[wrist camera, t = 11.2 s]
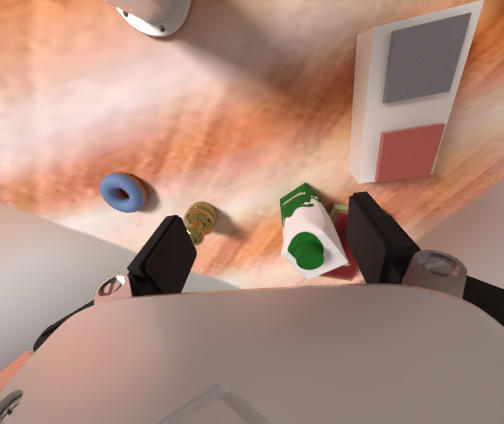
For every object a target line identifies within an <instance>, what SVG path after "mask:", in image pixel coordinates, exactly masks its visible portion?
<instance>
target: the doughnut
mask: <svg viewBox="0 0 504 424" xmlns="http://www.w3.org/2000/svg"><path fill="white" fill-rule="evenodd" d="M119 188H121V189H123V190H125V191H126V192H127V193H128V195H129V197H130V198H127V197H125V196H124V195H123V194H122V193H121V192H120V189H119ZM100 191H101V195H102V196H103V198H104V200H105V201H106V202H107V203H108V204H109V205H110V206H111V207H113V208H114V209H116V210H119V211H121V212H126V213H130V212H136V211H138V210H140V209H141V208H142V207H143V206H144V205H145V204H146V201H147V192H146V190H145V188H144V186H143V185H142V183H141V182H140V181H139V180H137V179H136V178H135V177H133V176H131V175H129V174H126V173H121V172H118V173H112V174H109V175H108V176H106V177H104V179H103V180H102V182H101V185H100Z"/></svg>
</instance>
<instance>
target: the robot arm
mask: <svg viewBox="0 0 504 424" xmlns="http://www.w3.org/2000/svg"><path fill="white" fill-rule="evenodd" d="M102 1H104V2H106V3H108V4H110V5H112V6H114V7H116V8H117V10H118V12H119V13H120V14H121V15H122V17H123V18H124V19H125V20H126V21H127V22H128V23H129V24H130V25H131V26H132V27H134V28H135V29H137V30H138V31H140V32H142V33H144V34H146V35H149V36H153V37H165V36H169V35H171V34H173V33H175V32H176V31H177V30H178V29H179V28H180V27H181V26H182V25H183V23H184V22H185V20H186V18H187V16H188V13H189V10H190V6H191V2H192V0H102ZM128 13H129V16H128ZM164 28H165V32H164V31H163V29H164ZM346 239H347V243H348V245H349V248H350V250H351V252H352V254H353V256H354V258H355V260H356V262H357V264H358V267H359V269H360V271H361V273H362V275H363V277H364V279H365V281H366V283H367V284H341V285H317V286H297V287H277V288H258V289H240V290H223V291H206V292H189V293H181V292H182V289H183V287H184V284H185V282H186V280H187V277H188V275H189V273H190V270H191V268H192V266H193V263H194V261H195V258H196V256H197V252H196V249H195V247H194V244H193V242H192V240H191V238H190V236H189V233H188V231H187V229H186V227H185V224H184V222H183V220H182V218H181V217H179V216H178V215H173V216H167V217H166V218H165V219H164V220H163V222H162V223H161V224H160V226H159V227H158V228H157V229H156V231H155V232H154V233H153V235H152V236H151V237H150V239H149V240H148V241H147V242H146V244H145V245H144V246H143V248H142V249H141V250H140V252H139V253H138V254H137V256H136V257H135V258H134V260H133V261H132V262H131V264H130V265H129V266H128V267H127V269H128V271H129V274H128V275H127V274H125V273H119V274H116V275H113V276H111V277H109V278H108V279H106V280H105V281H104V282H102V283H101V284H100V285H99V286H98V288H97V289H96V291H95V294H94V300H93V301H91V302H89V303H88V304H86V305H84V306H83V307H81V308H79V309H78V310H76V311H74V312H73V313H71V314H69V315H68V316H66V317H64V318H63V319H61V320H60V321H58V322H56V323H55V324H53V325H51V326H49V327H48V328H47V329H46V330H45V331H44V332H43V333H42V334H41V336H40V337H39V338H38V339H37V341H36V342H35V344H34V347H33V351H32V352H30V351H29V350H28V351H26V352H25V353H24V354H23V355H21V356H20V357H19V358H17V359H16V360H15V361H14V362H12V363H11V364H10V365H9V366H7V367H6V368H5V369H4V370H2V371H1V372H0V424H504V289H501V288H499V287H496V286H493V285H491V284H488V283H486V282H483V281H480V280H478V279H475V278H472V277H469V276H467V269H466V267H465V266H464V265H463V263H462V262H460V261H459V260H458V259H457V258H455V257H453V256H451V255H449V254H446V253H444V252H440V251H436V250H421V249H420V248H419V247H418V246H417V245H416V244H415V242H414V241H413V240H412V239H411V238H410V237H409V236H408V235H407V233H406V232H405V231H404V230H403V229H402V228H401V227H400V226H399V224H398V223H397V222H396V221H395V220H394V219H393V218H392V217H391V216H390V215H387V214H386V213H385V212H384V211H383V210H382V209H381V207H380V206H379V205H378V204H377V203H376V202H375V200H374V199H373V198H372V197H371V196H370V195H369V194H368V192H358V193H354V194H353V196H350V197H349V207H348V220H347V234H346Z"/></svg>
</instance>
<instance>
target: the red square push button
mask: <svg viewBox="0 0 504 424" xmlns="http://www.w3.org/2000/svg"><path fill="white" fill-rule="evenodd" d="M444 127H445V124H444V123H436V124H430V125H424V126H418V127H412V128H406V129H400V130H394V131H388V132H382V133H381V138H380V145H379V152H378V159H377V166H376V173H375V181H376V182H377V183H380V182H387V181H395V180H403V179H410V178H418V177H426V176H430V175H431V172H432V168H433V165H434V161H435V158H436V155H437V151H438V148H439V144H440V141H441V138H442V134H443V131H444Z"/></svg>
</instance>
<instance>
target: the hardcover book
mask: <svg viewBox="0 0 504 424" xmlns="http://www.w3.org/2000/svg"><path fill="white" fill-rule="evenodd" d="M348 207H349V206H346V205H339V204H334V205H333V208H332V210H331V213H330V215H329V216H330V218H331V221H332V223H333V225H334V228H335V230H336V232H337V235H338V237H339V239H340V243H341V245H342V248H343V250H344V253H345V255H346V257H347V260H348V262H349V263H347V264H344V265H342V266H340V267H337V268H335V269H333V270H330V271H328V272H326V273H323V274H321V275H319V276H323V277H330V278H336V279H343V280H350V281H352V280H353V278H354V277H355V275H356V273H357V272H358V270H359V267H358V264H357V262H356V260H355V258H354V256H353V254H352V252H351V250H350V248H349V245H348V243H347V239H346V234H347V220H348ZM382 210H383V211H384V212H385V213H386V214H387V215H389V214H388V213H387V212H386V211H385V210H384V209H382Z"/></svg>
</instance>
